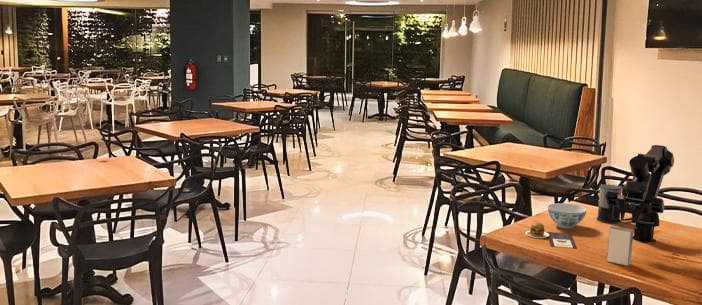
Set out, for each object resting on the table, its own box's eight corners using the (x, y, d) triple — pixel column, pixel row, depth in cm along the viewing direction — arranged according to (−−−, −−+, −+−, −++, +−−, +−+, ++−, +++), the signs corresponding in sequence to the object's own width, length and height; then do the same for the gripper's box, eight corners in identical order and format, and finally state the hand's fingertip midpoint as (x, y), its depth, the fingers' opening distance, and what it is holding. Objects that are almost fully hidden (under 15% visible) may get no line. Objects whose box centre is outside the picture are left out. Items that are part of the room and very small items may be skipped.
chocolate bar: (571, 233, 249) (576, 247, 232) (570, 235, 249) (576, 250, 232) (547, 231, 251) (550, 245, 234) (546, 234, 251) (550, 248, 234)
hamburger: (549, 243, 239) (550, 229, 238) (517, 238, 245) (518, 224, 244) (556, 235, 249) (557, 221, 248) (525, 230, 255) (526, 217, 254)
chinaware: (580, 233, 250) (582, 214, 248) (541, 227, 257) (543, 209, 256) (588, 224, 262) (590, 206, 261) (551, 219, 270) (552, 201, 269)
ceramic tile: (608, 259, 220) (611, 226, 218) (630, 264, 216) (633, 229, 214) (606, 261, 218) (609, 227, 216) (628, 266, 214) (631, 231, 212)
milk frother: (591, 218, 273) (594, 184, 270) (623, 216, 277) (626, 182, 274) (613, 227, 259) (616, 192, 257) (646, 225, 263) (649, 190, 261)
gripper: (609, 168, 229) (596, 204, 222) (665, 175, 217) (654, 213, 211) (613, 186, 236) (602, 221, 230) (668, 194, 225) (658, 231, 218)
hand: (628, 221), depth 222 cm, fingers open, 4 cm apart
